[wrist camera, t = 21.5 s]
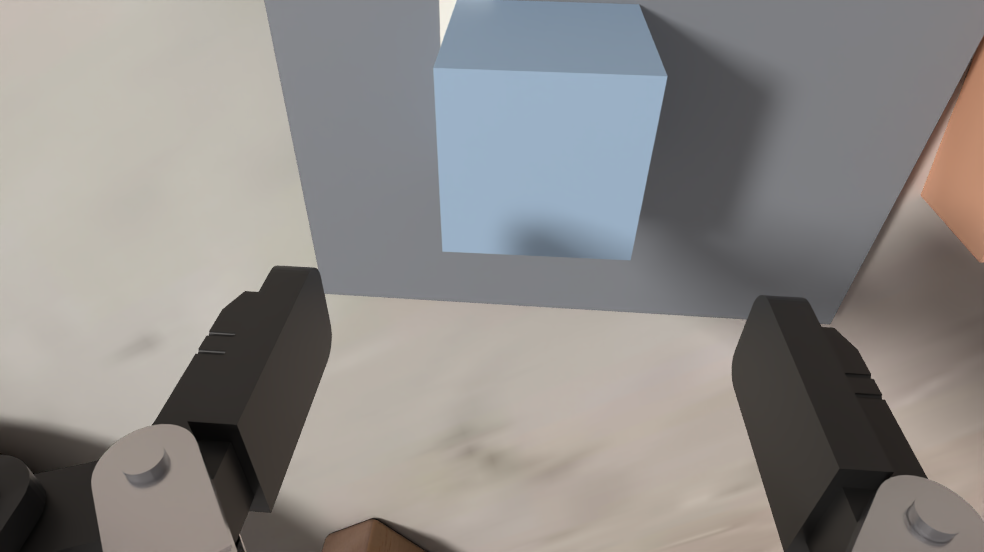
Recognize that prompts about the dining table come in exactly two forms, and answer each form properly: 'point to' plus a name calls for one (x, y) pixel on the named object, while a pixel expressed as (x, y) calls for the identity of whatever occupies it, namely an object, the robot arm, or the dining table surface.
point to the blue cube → (545, 127)
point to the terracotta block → (962, 164)
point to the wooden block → (368, 539)
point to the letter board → (675, 157)
